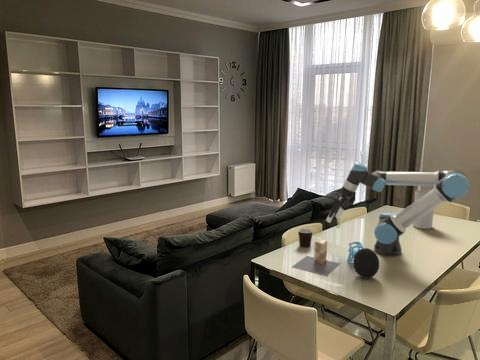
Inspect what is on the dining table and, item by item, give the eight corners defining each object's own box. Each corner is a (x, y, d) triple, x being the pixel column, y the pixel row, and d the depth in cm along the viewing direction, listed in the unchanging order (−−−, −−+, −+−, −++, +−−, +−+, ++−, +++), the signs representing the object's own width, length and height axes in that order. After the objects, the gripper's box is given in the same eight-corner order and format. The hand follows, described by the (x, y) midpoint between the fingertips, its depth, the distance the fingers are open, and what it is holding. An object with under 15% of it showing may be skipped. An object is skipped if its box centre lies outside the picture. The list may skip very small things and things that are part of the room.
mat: (340, 264, 211) (340, 263, 211) (326, 277, 196) (326, 276, 196) (306, 256, 223) (306, 255, 222) (291, 268, 207) (291, 267, 207)
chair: (345, 260, 217) (346, 240, 214) (360, 260, 216) (361, 240, 214) (349, 266, 209) (349, 245, 207) (364, 266, 209) (365, 245, 207)
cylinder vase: (433, 225, 276) (436, 191, 271) (430, 230, 266) (434, 195, 261) (414, 223, 283) (416, 189, 278) (411, 227, 272) (413, 192, 268)
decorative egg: (382, 282, 190) (384, 253, 187) (358, 283, 189) (359, 254, 186) (372, 271, 202) (373, 244, 200) (349, 272, 201) (350, 245, 199)
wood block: (326, 261, 214) (327, 240, 212) (322, 264, 210) (323, 243, 208) (317, 259, 217) (318, 238, 215) (314, 262, 213) (314, 241, 211)
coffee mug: (308, 249, 233) (309, 234, 231) (295, 247, 237) (296, 231, 235) (316, 244, 242) (316, 228, 241) (303, 241, 247) (303, 226, 245)
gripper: (351, 183, 232) (335, 212, 239) (334, 187, 212) (318, 219, 219) (362, 189, 228) (346, 219, 236) (346, 194, 208) (329, 227, 216)
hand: (332, 219), depth 228 cm, fingers open, 13 cm apart
